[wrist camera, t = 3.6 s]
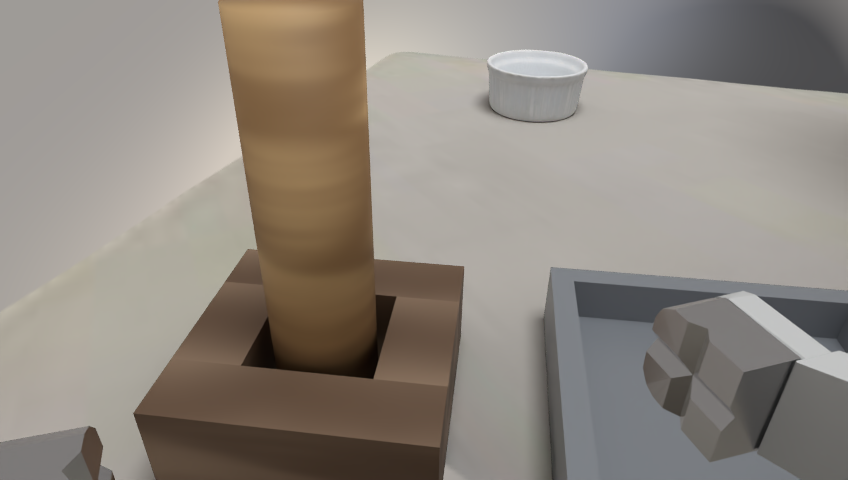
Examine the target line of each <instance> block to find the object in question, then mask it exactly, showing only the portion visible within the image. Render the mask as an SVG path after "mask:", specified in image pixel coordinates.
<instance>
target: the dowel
mask: <svg viewBox="0 0 848 480" xmlns="http://www.w3.org/2000/svg"><path fill="white" fill-rule="evenodd" d="M218 4H219V10H220V16H221V23H222V28H223V36H224V42H225V48H226V54H227V60H228V67H229V73H230V80H231V86H232V92H233V99H234V105H235V111H236V117H237V123H238V130H239V136H240V142H241V149H242V155H243V162H244V168H245V174H246V180H247V187H248V193H249V199H250V206H251V212H252V218H253V224H254V231H255V237H256V243H257V250H258V256H259V262H260V269H261V275H262V281H263V287H264V294H265V300H266V306H267V313H268V319H269V325H270V331H271V338H272V344H273V350H274V357H275V363H276V369H279V370H289V371H299V372H309V373H319V374H329V375H338V376H348V377H358V378H368V379H374V375H375V372H376V368H377V365H378V346H377V322H376V298H375V274H374V250H373V226H372V201H371V177H370V153H369V129H368V105H367V81H366V57H365V32H364V9H363V0H219V1H218Z"/></svg>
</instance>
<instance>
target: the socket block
mask: <svg viewBox="0 0 848 480" xmlns="http://www.w3.org/2000/svg"><path fill="white" fill-rule="evenodd" d="M374 274H375V298H376V322H377V346H378V365H377V368H376V372H375V375H374V379H368V378H358V377H348V376H338V375H329V374H319V373H309V372H299V371H289V370H279V369H276V363H275V357H274V350H273V344H272V338H271V331H270V325H269V319H268V313H267V306H266V300H265V294H264V287H263V281H262V275H261V269H260V262H259V256H258V250H252V249H248V250H247V251H246V253H245V254H244V255H243V257H242V258H241V260H240V261H239V263H238V264H237V265H236V267H235V268H234V270H233V271H232V273H231V274H230V276H229V277H228V278H227V280H226V281H225V283H224V284H223V286H222V287H221V288H220V290H219V291H218V293H217V294H216V296H215V297H214V298H213V300H212V301H211V303H210V304H209V306H208V307H207V308H206V310H205V311H204V313H203V314H202V316H201V317H200V318H199V320H198V321H197V323H196V324H195V326H194V327H193V329H192V330H191V331H190V333H189V334H188V336H187V337H186V339H185V340H184V341H183V343H182V344H181V346H180V347H179V349H178V350H177V351H176V353H175V354H174V356H173V357H172V359H171V360H170V361H169V363H168V364H167V366H166V367H165V369H164V370H163V371H162V373H161V374H160V376H159V377H158V379H157V380H156V382H155V383H154V384H153V386H152V387H151V389H150V390H149V392H148V393H147V394H146V396H145V397H144V399H143V400H142V402H141V403H140V404H139V406H138V407H137V409H136V410H135V412H134V413H133V414H134V417H135V420H136V423H137V426H138V429H139V431H140V434H141V437H142V440H143V443H144V446H145V449H146V452H147V455H148V458H149V461H150V464H151V467H152V470H153V472H154V475H155V478H156V480H443V475H444V467H445V459H446V451H447V443H448V435H449V426H450V418H451V410H452V402H453V394H454V386H455V378H456V369H457V361H458V353H459V345H460V337H461V319H462V300H463V280H464V266H452V265H439V264H427V263H414V262H402V261H389V260H377V259H374Z"/></svg>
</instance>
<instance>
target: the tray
mask: <svg viewBox="0 0 848 480" xmlns="http://www.w3.org/2000/svg"><path fill="white" fill-rule="evenodd" d="M741 291H745V292H749V293H752V294H755V295H756V296H758V297H759V298H760V299H762V300H763V301H764V302H766V303H767V304H768V305H770V306H771V307H772V308H774V309H775V310H776V311H777V312H779V313H780V314H781V315H783V316H784V317H785V318H787V319H788V320H789V321H791V322H792V323H793V324H795V325H796V326H797V327H799V328H800V329H801V330H803V331H804V332H805V333H807V334H808V335H809V336H811V337H812V338H813V339H815V340H816V341H817V342H819V343H820V344H821V345H823V346H824V347H825V348H826V349H828V350H829V351H830V352H835V351H842V352H845V353H848V291H845V290H832V289H819V288H807V287H794V286H781V285H769V284H756V283H744V282H731V281H718V280H706V279H693V278H680V277H668V276H655V275H642V274H630V273H617V272H604V271H592V270H579V269H567V268H554V267H551V270H550V277H549V284H548V291H547V298H546V305H545V312H544V329H545V347H546V366H547V384H548V402H549V421H550V439H551V458H552V476H553V480H801V479H799V478H798V477H796V476H794V475H792V474H791V473H789V472H787V471H786V470H784V469H782V468H781V467H779V466H777V465H775V464H774V463H772V462H770V461H769V460H767V459H765V458H763V457H762V456H760V455H758V454H757V451H758V450H757V451H753V452H749V453H745V454H741V455H737V456H733V457H729V458H725V459H722V460H718V461H714V462H709V461H708V460H707V459H706V458H705V457H704V455H703V454H702V453H701V452H700V451H699V450H698V449H697V447H696V446H695V445H694V444H693V443H692V442H691V441H690V439H689V438H688V437H687V436H686V435H685V434H684V433H683V431H682V430H681V426H680V416H678V415H675V414H673V413H671V412H669V411H667V410H665V409H663V408H662V407H661V406H660V405H659V404H658V402H657V401H656V400H655V399H654V398H653V396H652V394H651V393H650V391H649V389H648V387H647V385H646V381H645V376H644V371H643V365H644V360H645V355H646V351H647V350H648V349H649V347H650V346H651V345H652V344H653V343H654V342H655V340H656V339H657V337H656V335H655V334H654V332H653V330H652V328H653V324H654V321H655V317H656V316H657V314H658V313H659V312H660V311H661V310H662V309H663V308H668V307H673V306H677V305H682V304H687V303H691V302H696V301H701V300H705V299H710V298H716V297H718V296H723V295H727V294H732V293H736V292H741Z"/></svg>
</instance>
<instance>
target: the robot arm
mask: <svg viewBox="0 0 848 480" xmlns="http://www.w3.org/2000/svg"><path fill="white" fill-rule="evenodd" d="M652 330H653V332H654V334H655V335H656V337H657V339H656V340H655V342H654V343H653V344H652V345H651V346H650V347H649V349H648V350H647V351H646V355H645V360H644V365H643V371H644V376H645V381H646V385H647V387H648V389H649V391H650V393H651V394H652V396H653V398H654V399H655V400H656V401H657V402H658V404H659V405H660V406H661V407H662V408H663V409H665V410H667V411H669V412H671V413H673V414H675V415H678V416H680V426H681V430H682V431H683V433H684V434H685V435H686V436H687V437H688V438H689V439H690V441H691V442H692V443H693V444H694V445H695V446H696V447H697V449H698V450H699V451H700V452H701V453H702V454H703V455H704V457H705V458H706V459H707V460H708V461H709V462H714V461H718V460H722V459H725V458H729V457H733V456H737V455H741V454H745V453H749V452H753V451H757V450H758V451H757V454H758V455H760V456H762V457H763V458H765V459H767V460H769V461H770V462H772V463H774V464H775V465H777V466H779V467H781V468H782V469H784V470H786V471H787V472H789V473H791V474H792V475H794V476H796V477H798V478H799V479H801V480H848V353H845V352H842V351H835V352H830V351H829V350H828V349H826V348H825V347H824V346H823V345H821V344H820V343H819V342H817V341H816V340H815V339H813V338H812V337H811V336H809V335H808V334H807V333H805V332H804V331H803V330H801V329H800V328H799V327H797V326H796V325H795V324H793V323H792V322H791V321H789V320H788V319H787V318H785V317H784V316H783V315H781V314H780V313H779V312H777V311H776V310H775V309H774V308H772V307H771V306H770V305H768V304H767V303H766V302H764V301H763V300H762V299H760V298H759V297H758V296H756V295H755V294H752V293H749V292H745V291H741V292H736V293H732V294H727V295H723V296H718V297H716V298H710V299H705V300H701V301H696V302H691V303H687V304H682V305H677V306H673V307H668V308H663V309H662V310H661V311H660V312H659V313H658V314H657V316H656V317H655V321H654V324H653V328H652ZM102 450H103V445H102V443H101V441H100V438H99V436H98V434H97V431H96V429H95V428H93V427H90V426H87V427H82V428H76V429H71V430H65V431H60V432H54V433H49V434H43V435H38V436H32V437H27V438H21V439H16V440H10V441H5V442H0V480H115V478H114V475H113V473H112V471H111V470H109V469H107V468H105V467H103V466H101V465H100V464H101V457H102Z"/></svg>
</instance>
